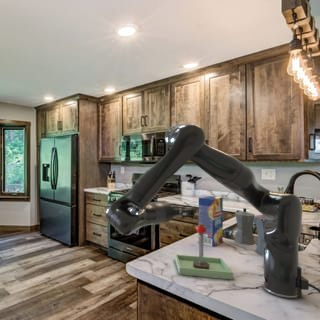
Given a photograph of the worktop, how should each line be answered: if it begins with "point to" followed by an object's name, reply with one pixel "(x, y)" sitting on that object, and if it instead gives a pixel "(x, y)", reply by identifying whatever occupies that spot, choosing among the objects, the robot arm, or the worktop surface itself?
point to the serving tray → (215, 269)
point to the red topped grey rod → (201, 248)
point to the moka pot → (262, 231)
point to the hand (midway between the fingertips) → (184, 207)
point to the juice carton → (211, 219)
